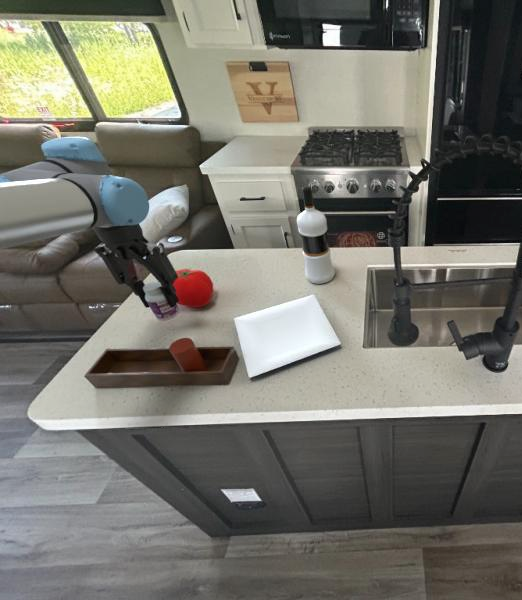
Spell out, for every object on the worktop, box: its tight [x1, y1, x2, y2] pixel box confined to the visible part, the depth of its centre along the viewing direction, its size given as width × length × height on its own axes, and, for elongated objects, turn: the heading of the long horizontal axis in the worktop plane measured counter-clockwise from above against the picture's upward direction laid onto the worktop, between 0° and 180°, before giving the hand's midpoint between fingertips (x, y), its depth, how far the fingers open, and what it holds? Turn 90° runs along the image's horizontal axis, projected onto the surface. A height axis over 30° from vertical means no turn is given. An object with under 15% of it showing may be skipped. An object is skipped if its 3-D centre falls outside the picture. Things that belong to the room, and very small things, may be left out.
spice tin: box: [168, 337, 207, 372], centre depth 74 cm, size 5×5×9 cm
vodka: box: [296, 185, 335, 285], centre depth 98 cm, size 9×9×30 cm
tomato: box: [173, 267, 214, 308], centre depth 94 cm, size 11×13×10 cm
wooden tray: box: [84, 345, 240, 389], centre depth 76 cm, size 29×8×4 cm, turn 93°
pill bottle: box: [143, 280, 181, 322], centre depth 82 cm, size 5×5×10 cm
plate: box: [233, 294, 341, 379], centre depth 87 cm, size 22×22×2 cm
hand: (162, 303), depth 83 cm, fingers closed on pill bottle, 5 cm apart
